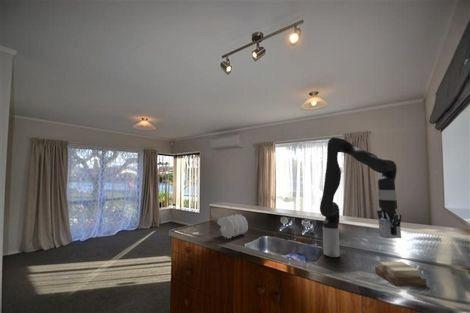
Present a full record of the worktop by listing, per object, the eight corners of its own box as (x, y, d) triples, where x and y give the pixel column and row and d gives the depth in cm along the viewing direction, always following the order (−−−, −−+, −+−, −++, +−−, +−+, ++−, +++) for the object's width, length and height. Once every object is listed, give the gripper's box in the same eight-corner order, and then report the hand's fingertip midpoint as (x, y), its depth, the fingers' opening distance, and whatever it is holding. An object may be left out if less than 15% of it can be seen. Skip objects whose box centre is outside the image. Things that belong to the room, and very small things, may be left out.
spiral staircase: (245, 238, 181) (227, 244, 161) (231, 227, 191) (212, 231, 172) (254, 220, 178) (236, 224, 158) (239, 209, 189) (220, 211, 169)
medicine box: (394, 236, 106) (393, 218, 107) (401, 238, 102) (400, 220, 103) (379, 236, 106) (378, 218, 107) (385, 238, 102) (384, 220, 103)
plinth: (375, 272, 109) (374, 260, 110) (401, 272, 110) (400, 260, 110) (396, 286, 95) (395, 272, 96) (426, 286, 96) (425, 272, 96)
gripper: (406, 200, 99) (409, 237, 97) (384, 197, 113) (387, 230, 112) (390, 200, 99) (393, 237, 97) (370, 197, 113) (373, 230, 111)
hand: (389, 233), depth 104 cm, fingers closed on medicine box, 4 cm apart
